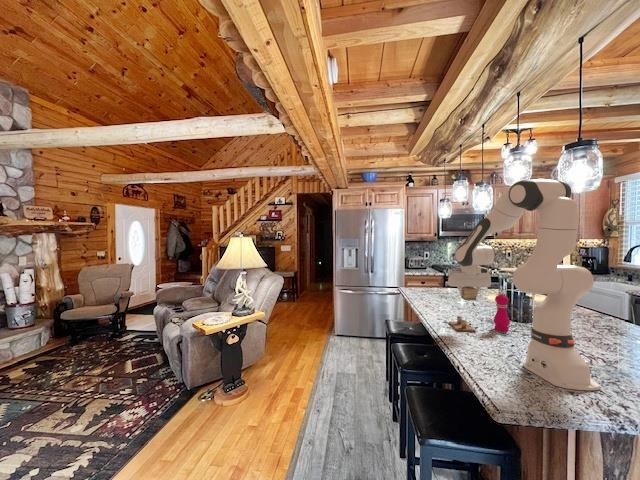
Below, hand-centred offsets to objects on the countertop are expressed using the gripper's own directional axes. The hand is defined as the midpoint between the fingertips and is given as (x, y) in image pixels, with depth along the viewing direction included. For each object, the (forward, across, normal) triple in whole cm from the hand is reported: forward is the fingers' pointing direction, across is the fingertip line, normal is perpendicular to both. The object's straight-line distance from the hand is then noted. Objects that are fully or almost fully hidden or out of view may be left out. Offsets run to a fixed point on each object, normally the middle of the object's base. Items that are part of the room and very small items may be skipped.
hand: (468, 294), depth 149 cm
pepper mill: (+19, +18, +2) cm, 26 cm away
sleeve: (+2, 0, 0) cm, 2 cm away
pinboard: (+19, -2, +4) cm, 19 cm away
